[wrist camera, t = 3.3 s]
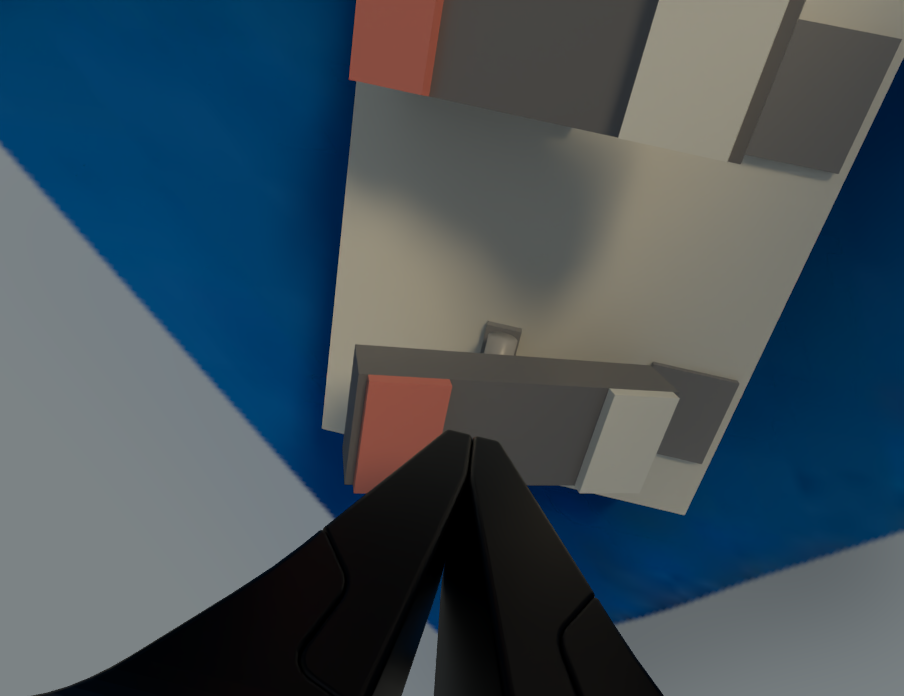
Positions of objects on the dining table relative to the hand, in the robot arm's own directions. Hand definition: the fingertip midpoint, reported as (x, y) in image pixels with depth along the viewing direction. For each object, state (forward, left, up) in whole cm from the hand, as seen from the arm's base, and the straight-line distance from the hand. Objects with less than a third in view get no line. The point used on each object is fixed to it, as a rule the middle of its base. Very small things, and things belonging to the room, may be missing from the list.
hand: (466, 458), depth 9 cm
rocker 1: (0, -6, -7) cm, 9 cm away
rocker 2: (0, +2, -7) cm, 7 cm away
